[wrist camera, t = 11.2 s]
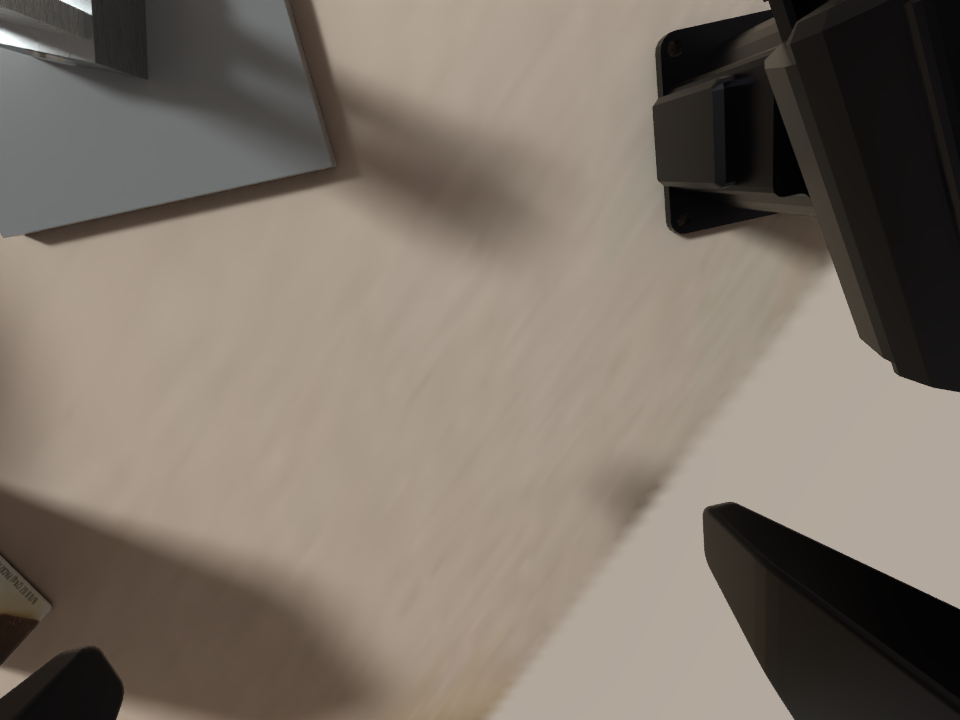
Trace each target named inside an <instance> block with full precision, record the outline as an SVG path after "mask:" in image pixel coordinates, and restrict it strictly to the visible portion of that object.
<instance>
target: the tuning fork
mask: <svg viewBox="0 0 960 720" xmlns="http://www.w3.org/2000/svg"><path fill="white" fill-rule="evenodd" d="M0 47H1V48H5V49H8V50H11V51H15V52H18V53H22V54H25V55H28V56H32V57H35V58H39V59H43V60H47V61H52V62H56V63H61V64H65V65H70V66H81V67H86V68H91V69H96V70H101V71H106V72H111V73H116V74H121V75H126V76H131V77H136V78H140V79H145V80H148V63H147V37H146V10H145V0H0Z"/></svg>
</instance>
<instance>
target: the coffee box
mask: <svg viewBox="0 0 960 720" xmlns="http://www.w3.org/2000/svg"><path fill="white" fill-rule="evenodd" d="M50 610H51V604H50V603H49V602H48V601H47V600H46V599H45V598H44V597H43V596H42V595H41V594H39V593H38V592H37V591H36V590H35V589H34V588H33V587H32V586H31V585H30V584H29V583H28V582H27V581H26V580H25V579H24V578H23V577H22V576H21V575H20V574H19V573H18V572H17V571H16V570H15V569H14V568H13V567H12V566H11V565H10V564H9V563H8V562H7V561H6V560H5V559H4V558H3V557H2V556H1V555H0V665H1V664H2V663H3V662H4V661H5V660H6V659H7V658H8V656H9V655H10V654H11V653H12V652H13V651H14V650H15V649H16V648H17V647H18V646H19V645H20V643H21V642H22V641H23V640H24V639H25V638H26V637H27V636H28V634H29V633H30V632H31V631H32V630H33V629H34V628H35V627H36V626H37V625H38V624H39V623H40V621H41V620H42V619H43V618H44V617H45V616H46V615H47V614H48V613H49V612H50Z"/></svg>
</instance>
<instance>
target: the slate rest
mask: <svg viewBox="0 0 960 720" xmlns="http://www.w3.org/2000/svg"><path fill="white" fill-rule="evenodd" d="M145 10H146V37H147V63H148V80H145V79H140V78H136V77H131V76H126V75H121V74H116V73H111V72H106V71H101V70H96V69H91V68H86V67H81V66H70V65H65V64H61V63H56V62H52V61H47V60H43V59H39V58H35V57H32V56H28V55H25V54H22V53H18V52H15V51H11V50H8V49H5V48H1V47H0V233H1V235H2V237H3V238H7V237H14V236H21V235H26V234H31V233H35V232H40V231H44V230H49V229H53V228H58V227H63V226H67V225H72V224H76V223H81V222H85V221H90V220H95V219H99V218H104V217H108V216H113V215H117V214H122V213H127V212H131V211H136V210H140V209H145V208H149V207H154V206H159V205H163V204H168V203H172V202H177V201H181V200H186V199H191V198H195V197H200V196H204V195H209V194H213V193H218V192H223V191H227V190H232V189H236V188H241V187H245V186H250V185H255V184H259V183H264V182H268V181H273V180H277V179H282V178H287V177H291V176H296V175H300V174H305V173H309V172H314V171H319V170H323V169H328V168H332V167H337V166H336V162H335V159H334V155H333V152H332V148H331V145H330V141H329V138H328V134H327V131H326V127H325V124H324V121H323V117H322V114H321V110H320V107H319V103H318V100H317V96H316V93H315V89H314V86H313V82H312V79H311V75H310V72H309V69H308V65H307V62H306V58H305V55H304V51H303V48H302V44H301V41H300V37H299V34H298V30H297V27H296V23H295V20H294V17H293V13H292V10H291V6H290V3H289V0H145Z"/></svg>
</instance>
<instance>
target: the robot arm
mask: <svg viewBox="0 0 960 720" xmlns="http://www.w3.org/2000/svg"><path fill="white" fill-rule="evenodd" d="M763 1H764V2H766V1H769V4H770V7H771V10H767V11H762V12H758V13H753V14H749V15H744V16H740V17H735V18H730V19H726V20H721V21H717V22H712V23H707V24H703V25H698V26H694V27H689V28H684V29H680V30H675V31H673V32H671V33H668V34H667V35H665V36H664V37H663V38H662V39H661V40H660V41H659V42H658V44H657V47H656V53H655V56H656V72H657V87H658V100H657V101H656V103H655V104H654V106H653V122H654V136H655V151H656V165H657V179H658V181H659V182H660V183H661V184H662V185H664V195H665V211H666V223H667V227H668V228H669V229H670V230H671V231H673V232H675V233H679V234H686V233H690V232H695V231H699V230H704V229H708V228H713V227H717V226H722V225H726V224H731V223H735V222H740V221H744V220H749V219H754V218H758V217H763V216H767V215H772V214H776V213H787V214H796V215H805V216H814V217H817V218H818V221H819V224H820V226H821V229H822V232H823V235H824V238H825V241H826V243H827V246H828V249H829V252H830V255H831V258H832V260H833V263H834V266H835V269H836V272H837V275H838V277H839V280H840V283H841V286H842V289H843V292H844V294H845V297H846V300H847V303H848V306H849V308H850V311H851V314H852V317H853V320H854V322H855V325H856V328H857V331H858V334H859V337H860V338H861V339H862V340H863V341H864V342H865V343H866V344H868V345H869V346H870V347H871V348H872V349H874V350H875V351H876V352H877V353H878V354H879V355H880V356H882V357H883V358H884V359H886V360H888V361H890V362H891V363H892V366H893V369H894V372H895V373H896V374H898V375H899V376H901V377H904V378H907V379H910V380H913V381H916V382H918V383H921V384H924V385H927V386H930V387H934V388H939V389H945V390H951V391H957V392H960V0H763ZM670 42H672V43H674V44H675V45H676V46H677V49H678V50H677V55H676V56H675V57H671V56H670V55H669V53H668V45H669V44H670ZM682 213H684V214H685V216H686V220H685V222H684V224H683V225H681V226H679V225H678V222H677V221H678V217H679V216H680V214H682ZM703 532H704V550H705V556H706V560H707V563H708V565H709V567H710V569H711V571H712V573H713V575H714V577H715V579H716V581H717V583H718V585H719V587H720V589H721V591H722V593H723V594H724V596H725V598H726V600H727V602H728V604H729V606H730V608H731V610H732V612H733V614H734V615H735V617H736V619H737V621H738V623H739V625H740V627H741V629H742V631H743V633H744V635H745V637H746V639H747V641H748V643H749V644H750V646H751V648H752V650H753V652H754V654H755V656H756V658H757V660H758V661H759V663H760V665H761V667H762V669H763V670H764V672H765V674H766V676H767V677H768V679H769V681H770V682H771V684H772V685H773V687H774V689H775V690H776V692H777V693H778V695H779V697H780V698H781V700H782V701H783V703H784V704H785V706H786V707H787V709H788V710H789V712H790V714H791V715H792V716H793V718H794V720H960V609H958V608H956V607H954V606H952V605H950V604H948V603H946V602H944V601H941V600H939V599H937V598H935V597H933V596H931V595H929V594H926V593H924V592H922V591H920V590H918V589H916V588H914V587H912V586H910V585H908V584H906V583H903V582H901V581H899V580H897V579H895V578H893V577H891V576H889V575H887V574H884V573H882V572H880V571H878V570H876V569H874V568H872V567H870V566H868V565H865V564H863V563H861V562H859V561H857V560H855V559H853V558H851V557H849V556H846V555H844V554H842V553H840V552H838V551H836V550H834V549H832V548H830V547H828V546H825V545H823V544H821V543H819V542H817V541H815V540H813V539H811V538H809V537H806V536H804V535H802V534H800V533H798V532H796V531H794V530H792V529H790V528H787V527H785V526H783V525H781V524H779V523H777V522H775V521H773V520H771V519H769V518H766V517H764V516H762V515H760V514H758V513H756V512H754V511H752V510H750V509H747V508H745V507H743V506H741V505H739V504H737V503H734V502H726V503H721V504H717V505H713V506H708V507H707V508H705V509H704V512H703ZM123 695H124V687H123V683H122V681H121V679H120V677H119V676H118V674H117V673H116V672H115V670H114V669H113V667H112V666H111V664H110V663H109V661H108V660H107V658H106V657H105V655H104V654H103V652H102V651H101V650H100V649H99V648H97V647H95V646H85V647H81V648H76V649H72V650H68V651H65V652H62V653H60V654H59V655H57V656H56V657H54V658H53V659H52V660H50V661H49V662H48V663H46V664H45V665H44V666H43V667H41V668H40V669H39V670H37V671H36V672H35V673H33V674H32V675H31V676H29V677H28V678H27V679H26V680H24V681H23V682H22V683H20V684H19V685H18V686H16V687H15V688H14V689H12V690H11V691H10V692H9V693H7V694H6V695H5V696H3V697H2V698H1V699H0V720H116V719H117V716H118V713H119V710H120V707H121V704H122V701H123Z"/></svg>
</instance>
